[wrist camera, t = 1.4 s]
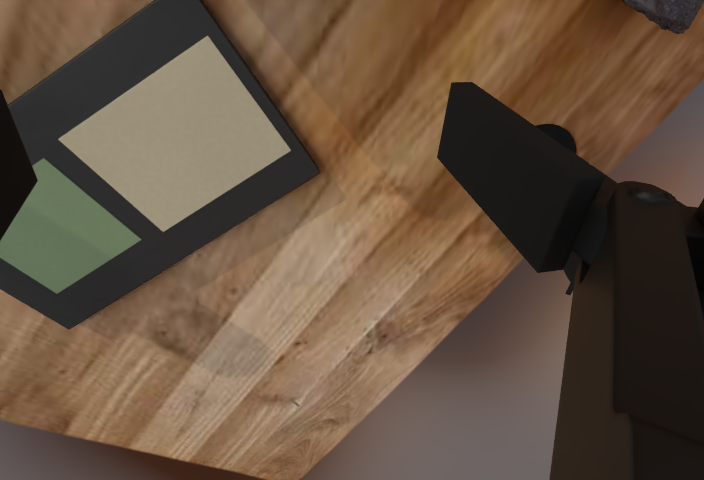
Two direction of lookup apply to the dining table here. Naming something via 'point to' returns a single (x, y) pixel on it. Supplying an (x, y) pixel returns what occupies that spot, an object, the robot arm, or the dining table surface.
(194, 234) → the black board
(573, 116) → the dining table surface
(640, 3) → the perforated stone tool
